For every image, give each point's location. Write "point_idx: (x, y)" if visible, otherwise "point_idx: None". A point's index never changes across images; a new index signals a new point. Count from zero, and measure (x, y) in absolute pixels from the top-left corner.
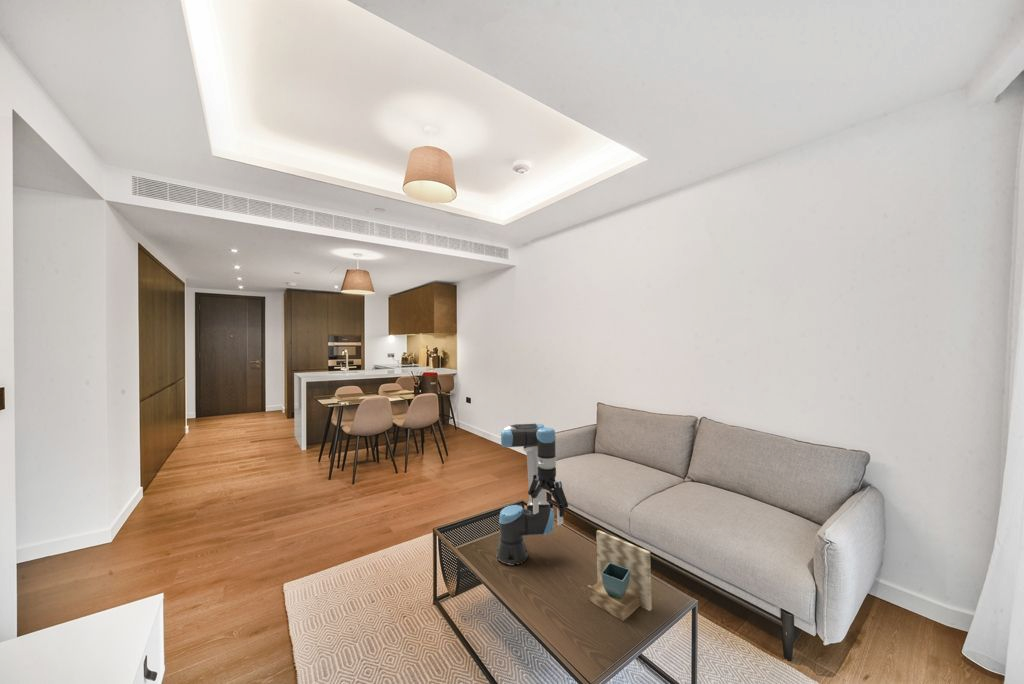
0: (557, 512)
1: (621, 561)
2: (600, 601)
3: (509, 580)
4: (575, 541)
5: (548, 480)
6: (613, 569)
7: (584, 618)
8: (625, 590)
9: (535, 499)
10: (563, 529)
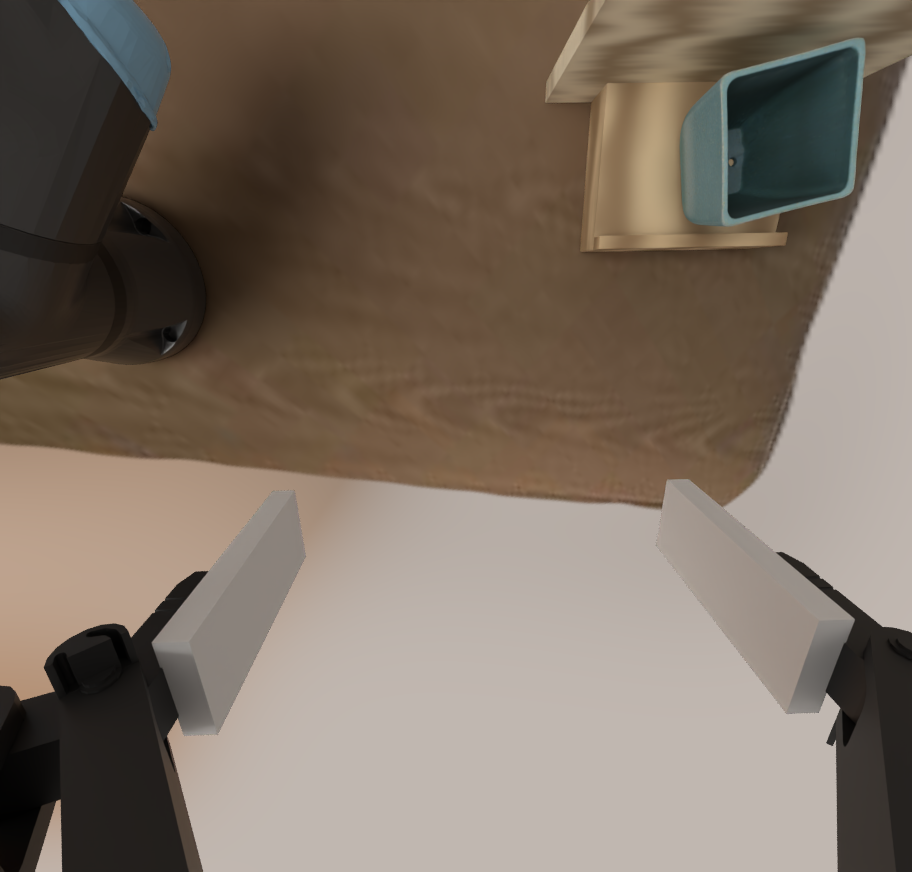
0: (748, 654)
1: (810, 8)
2: (652, 249)
3: (282, 407)
4: None
5: None
6: (731, 88)
7: (623, 347)
8: (771, 138)
9: (221, 685)
10: None
